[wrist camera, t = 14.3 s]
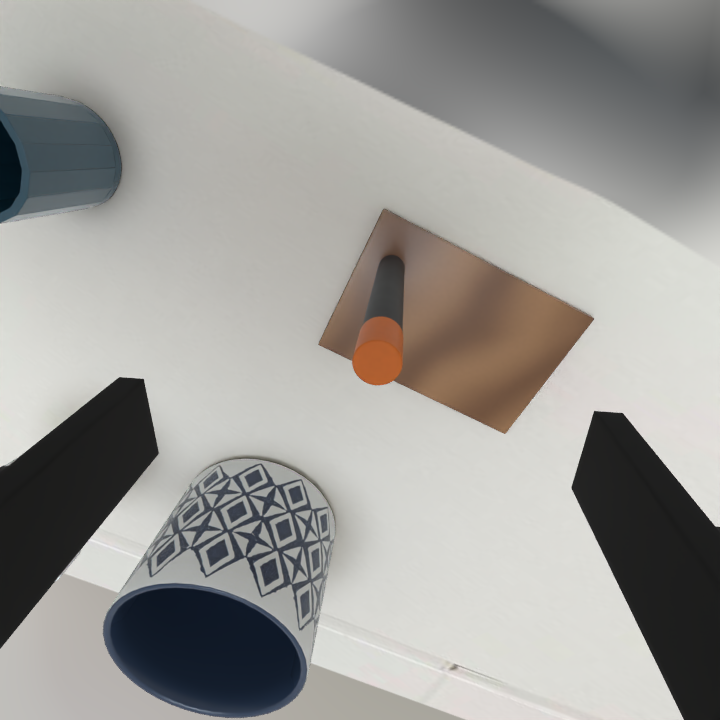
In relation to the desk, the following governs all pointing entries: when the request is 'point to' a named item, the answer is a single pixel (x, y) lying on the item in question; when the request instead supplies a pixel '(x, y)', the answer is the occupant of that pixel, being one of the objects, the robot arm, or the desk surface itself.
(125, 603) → the planter
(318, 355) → the desk surface
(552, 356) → the brown wooden board
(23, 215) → the pen cup
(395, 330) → the marker
